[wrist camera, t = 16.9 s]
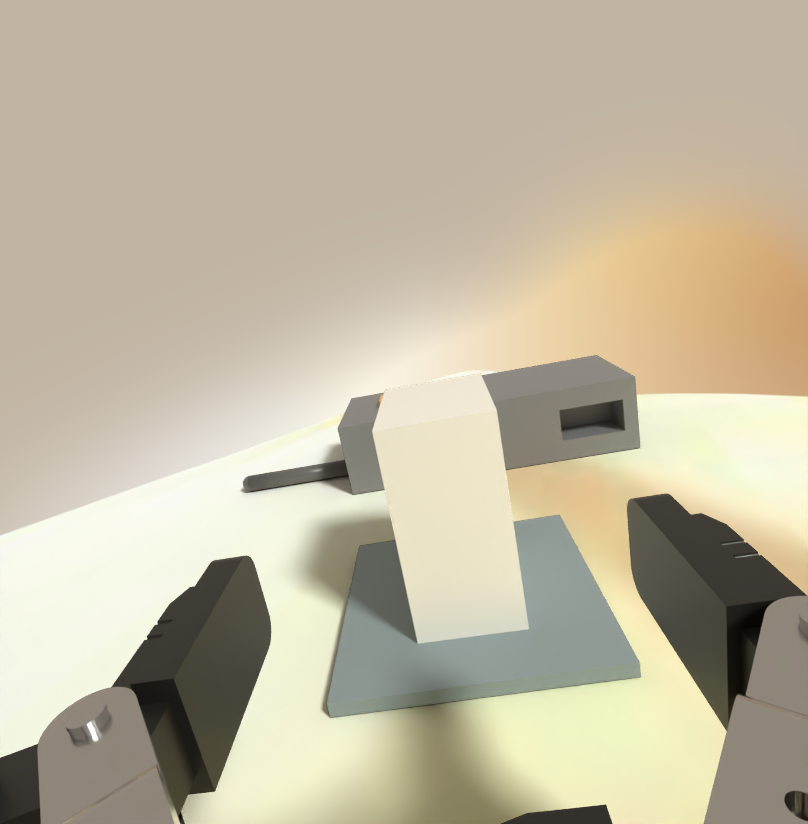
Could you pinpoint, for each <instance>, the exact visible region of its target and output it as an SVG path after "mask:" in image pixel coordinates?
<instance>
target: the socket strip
mask: <svg viewBox="0 0 808 824" xmlns="http://www.w3.org/2000/svg"><path fill="white" fill-rule="evenodd" d="M482 378H483V380H484V382H485V385H486V387H487V389H488V391H489V394H490V396H491V398H492V400H493V403H494V405H495V407H496V409H497V415H498V422H499V428H500V435H501V442H502V449H503V455H504V462H505V469H513V468H519V467H525V466H531V465H537V464H543V463H549V462H555V461H562V460H568V459H574V458H580V457H586V456H592V455H598V454H604V453H611V452H617V451H623V450H629V449H635V448H640V437H639V424H638V410H637V397H636V383H635V376H633V375H631V374H629V373H628V372H626V371H624V370H622V369H620V368H619V367H616V366H615V365H613V364H611V363H610V362H608V361H606V360H604V359H603V358H601V357H599V356H597V355H594V356H589V357H583V358H577V359H572V360H566V361H560V362H555V363H550V364H543V365H538V366H532V367H527V368H521V369H515V370H510V371H504V372H498V373H493V374H487V375H482ZM383 395H384V393H380V394H374V395H369V396H364V397H358V398H352V399H351V401H350V403H349V405H348V407H347V409H346V412H345V414H344V416H343V418H342V420H341V422H340V424H339V426H338V432H339V436H340V441H341V445H342V449H343V453H344V458H345V460H341V461H336V462H330V463H324V464H318V465H312V466H306V467H300V468H294V469H288V470H282V471H276V472H270V473H264V474H258V475H252V476H248V477H246V478H245V479H244V481H243V487H244V488H245V489H246V490H247V491H256V490H262V489H268V488H274V487H280V486H286V485H292V484H298V483H304V482H310V481H316V480H322V479H328V478H334V477H340V476H346V475H349V479H350V484H351V488H352V492H353V494H359V493H366V492H372V491H378V490H384V484H383V480H382V475H381V470H380V466H379V461H378V456H377V452H376V447H375V442H374V438H373V433H372V430H373V427H374V423H375V420H376V417H377V414H378V411H379V407H380V404H381V401H382V398H383Z"/></svg>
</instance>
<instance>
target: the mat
mask: <svg viewBox="0 0 808 824" xmlns="http://www.w3.org/2000/svg"><path fill="white" fill-rule="evenodd" d="M513 523H514V530H515V537H516V544H517V550H518V557H519V564H520V571H521V577H522V584H523V591H524V598H525V605H526V611H527V618H528V625H529V629H527V630H519V631H512V632H504V633H496V634H488V635H481V636H473V637H465V638H458V639H450V640H442V641H434V642H427V643H419V644H418V642H417V638H416V633H415V628H414V624H413V619H412V614H411V610H410V605H409V601H408V596H407V591H406V587H405V582H404V577H403V573H402V568H401V563H400V559H399V554H398V549H397V545H396V540H393V541H386V542H380V543H373V544H367V545H361V546H359V549H358V554H357V559H356V564H355V569H354V574H353V579H352V584H351V588H350V593H349V598H348V603H347V608H346V613H345V618H344V622H343V627H342V632H341V637H340V642H339V647H338V652H337V656H336V661H335V666H334V671H333V676H332V681H331V686H330V690H329V695H328V700H327V707H328V711H329V714H330V718H331V717H339V716H347V715H354V714H362V713H369V712H377V711H385V710H392V709H400V708H407V707H415V706H423V705H430V704H438V703H446V702H453V701H461V700H468V699H476V698H484V697H491V696H499V695H506V694H514V693H522V692H529V691H537V690H544V689H552V688H560V687H567V686H575V685H583V684H590V683H598V682H605V681H613V680H621V679H628V678H636V677H641V673H640V662H639V660H638V659H637V657H636V655H635V653H634V651H633V649H632V648H631V646H630V644H629V642H628V640H627V638H626V636H625V635H624V633H623V631H622V629H621V627H620V625H619V624H618V622H617V620H616V618H615V616H614V614H613V612H612V611H611V609H610V607H609V605H608V603H607V601H606V599H605V598H604V596H603V594H602V592H601V590H600V588H599V587H598V585H597V583H596V581H595V579H594V577H593V575H592V574H591V572H590V570H589V568H588V566H587V564H586V563H585V561H584V559H583V557H582V555H581V553H580V551H579V550H578V548H577V546H576V544H575V542H574V540H573V539H572V537H571V535H570V533H569V531H568V529H567V527H566V526H565V524H564V522H563V520H562V518H561V516H560V515H553V516H547V517H540V518H534V519H528V520H521V521H515V522H513Z"/></svg>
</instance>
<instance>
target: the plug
mask: <svg viewBox="0 0 808 824" xmlns="http://www.w3.org/2000/svg"><path fill="white" fill-rule="evenodd" d="M372 433H373V438H374V442H375V447H376V452H377V456H378V461H379V466H380V470H381V475H382V480H383V484H384V489H385V494H386V498H387V503H388V508H389V512H390V517H391V521H392V526H393V531H394V535H395V540H396V545H397V549H398V554H399V559H400V563H401V568H402V573H403V577H404V582H405V587H406V591H407V596H408V601H409V605H410V610H411V614H412V619H413V624H414V628H415V633H416V638H417V642H418V644H419V643H427V642H434V641H442V640H450V639H458V638H465V637H473V636H481V635H488V634H496V633H504V632H512V631H519V630H527V629H529V625H528V618H527V611H526V605H525V598H524V591H523V584H522V577H521V571H520V564H519V557H518V550H517V544H516V537H515V530H514V523H513V516H512V510H511V503H510V496H509V489H508V483H507V476H506V469H505V462H504V455H503V449H502V442H501V435H500V428H499V422H498V415H497V409H496V407H495V405H494V403H493V400H492V398H491V396H490V394H489V391H488V389H487V387H486V385H485V382H484V380H483V378H482V375H481V373H479V374H474V375H468V376H462V377H456V378H451V379H445V380H439V381H433V382H428V383H422V384H416V385H410V386H405V387H399V388H393V389H388V390H385V392H384V395H383V398H382V401H381V404H380V407H379V411H378V414H377V417H376V420H375V423H374V427H373V430H372Z"/></svg>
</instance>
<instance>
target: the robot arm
mask: <svg viewBox="0 0 808 824" xmlns="http://www.w3.org/2000/svg"><path fill="white" fill-rule="evenodd" d="M627 516H628V530H629V543H630V557H631V569H632V574H633V578H634V582H635V585H636V588H637V590H638V593H639V595H640V597H641V599H642V600H643V602H644V603H645V605H646V606H647V608H648V609H649V611H650V613H651V614H652V616H653V617H654V619H655V620H656V622H657V623H658V625H659V627H660V628H661V630H662V631H663V633H664V634H665V636H666V637H667V639H668V641H669V642H670V644H671V645H672V647H673V648H674V650H675V651H676V653H677V655H678V656H679V658H680V659H681V661H682V662H683V664H684V665H685V667H686V669H687V670H688V672H689V673H690V675H691V676H692V678H693V679H694V681H695V682H696V684H697V686H698V687H699V689H700V690H701V692H702V693H703V695H704V696H705V698H706V700H707V701H708V703H709V704H710V706H711V707H712V709H713V710H714V712H715V714H716V715H717V717H718V718H719V720H720V721H721V723H722V724H723V726H724V728H725V729H726V731H727V733H726V737H725V741H724V745H723V749H722V753H721V757H720V761H719V765H718V769H717V773H716V777H715V781H714V785H713V789H712V793H711V797H710V801H709V805H708V809H707V813H706V817H705V821H704V824H808V596H807V595H806V594H805V593H804V592H802V591H801V590H800V589H799V588H798V587H797V586H796V585H795V584H793V583H792V582H791V581H790V580H789V579H788V578H787V577H785V576H784V575H783V574H782V573H781V572H780V571H779V570H778V569H776V568H775V567H774V566H773V565H772V564H771V563H770V562H769V561H767V560H766V559H765V558H764V557H763V556H762V555H760V556H759V555H758V552H757V551H756V550H755V549H754V548H753V547H752V546H750V545H749V544H748V543H747V542H746V543H745V542H744V539H743V538H741V537H740V536H739V535H738V534H737V533H736V532H735V531H734V530H732V529H731V528H730V527H729V526H728V525H727V524H725V523H722V522H720V521H718V520H716V519H713V518H711V517H709V516H706V515H704V514H702V513H700V514H693V515H691V514H690V513H688V512H687V511H686V510H685V509H684V508H683V507H682V506H681V505H680V504H679V503H678V502H677V501H676V500H675V499H674V498H673V497H672V496H671V495H669V494H660V495H653V496H647V497H640V498H633V499H630V500H629V501H628V504H627ZM270 641H271V621H270V616H269V612H268V609H267V606H266V602H265V599H264V595H263V592H262V589H261V585H260V582H259V578H258V575H257V572H256V568H255V565H254V562H253V560H252V559H251V558H250V557H249V556H240V557H234V558H227V559H220V560H214V561H212V562H211V563H210V564H209V566H208V567H207V569H206V570H205V572H204V573H203V575H202V576H201V578H200V579H199V581H198V583H197V584H196V586H195V587H190V588H188V589H187V590H186V591H185V592H184V593H182V594H181V595H180V596H179V597H178V598H176V599H175V600H174V601H173V602H172V603H170V604H169V606H168V607H167V609H166V610H165V612H164V613H163V614H162V616H161V617H160V619H159V620H158V625H155V626H154V627H153V629H152V630H151V631H150V633H149V634H148V636H147V640H144V641H143V643H142V644H141V646H140V647H139V649H138V650H137V651H136V653H135V654H134V656H133V657H132V659H131V660H130V661H129V663H128V664H127V666H126V667H125V668H124V670H123V671H122V673H121V674H120V676H119V677H118V678H117V680H116V681H115V683H114V684H113V686H112V687H111V688H107V689H103V690H100V691H97V692H94V693H92V694H90V695H88V696H86V697H84V698H82V699H80V700H78V701H77V702H75V703H74V704H72V705H71V706H69V707H68V708H66V709H65V710H64V711H63V712H61V713H60V714H59V715H58V716H57V717H56V718H55V719H54V720H53V721H52V722H51V723H50V724H49V725H48V727H47V728H46V729H45V731H44V732H43V734H42V736H41V738H40V740H39V743H38V744H37V745H34V746H31V747H28V748H26V749H23V750H20V751H18V752H15V753H12V754H10V755H7V756H4V757H1V758H0V824H186V822H185V819H184V816H183V814H182V811H181V810H182V807H183V805H184V802H185V800H186V798H187V795H189V794H197V793H206V792H214V791H215V790H216V787H217V785H218V782H219V779H220V777H221V774H222V771H223V769H224V766H225V763H226V761H227V758H228V755H229V753H230V750H231V747H232V745H233V742H234V739H235V737H236V734H237V731H238V729H239V726H240V723H241V721H242V718H243V715H244V713H245V710H246V707H247V705H248V702H249V699H250V697H251V694H252V691H253V689H254V686H255V684H256V681H257V678H258V676H259V673H260V670H261V668H262V665H263V662H264V660H265V657H266V654H267V652H268V649H269V646H270ZM501 824H612V821H611V818H610V815H609V812H608V809H607V806H606V805H599V806H590V807H580V808H571V809H562V810H553V811H544V812H534V813H527V814H524V815H522V816H519V817H516V818H514V819H511V820H509V821H506V822H504V823H501Z"/></svg>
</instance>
